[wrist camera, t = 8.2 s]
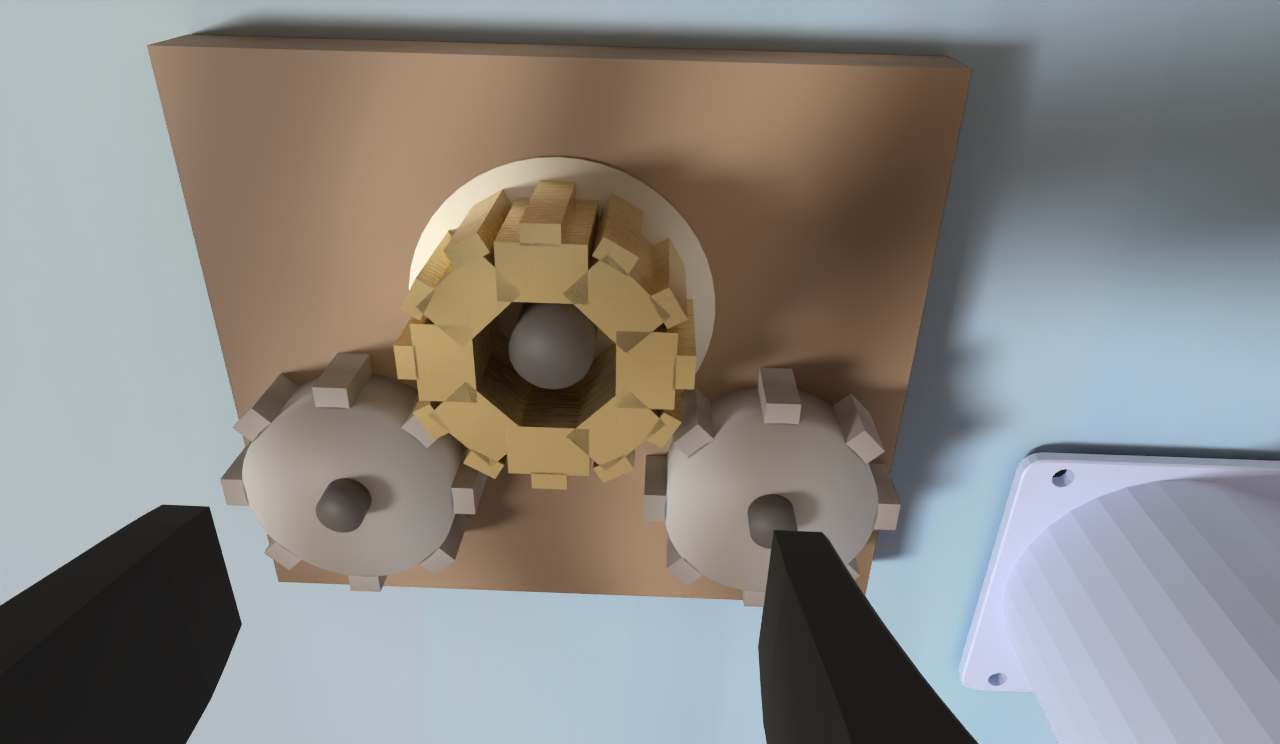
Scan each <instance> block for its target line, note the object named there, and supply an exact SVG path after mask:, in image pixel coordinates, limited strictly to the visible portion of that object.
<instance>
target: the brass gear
mask: <svg viewBox="0 0 1280 744" xmlns="http://www.w3.org/2000/svg"><path fill="white" fill-rule="evenodd" d="M642 221H643V210H641V209H639V208H638V207H636V206H634V205H633V204H631V203H629V202H628V201H626V200H624V199H623V198H621V197H619V196H618V195H616V194H614V193H612V194H611V196H610V198H609V199H608V201H607V203H606V204H605V206H604V208H603V209H602V213H601V218H600V222H599V200H585V199H576V189H575V182H573V181H542V180H539V182H538V184H537V186H536V188H535V190H534V193H533V195H532V197H531V198H522V197H517V198H516V200H515V202H514V204H513V205H512V203H511V202H510V200H509V198H508V197H507V195H506V194H505V192H504V190H503V189H502V190H500V191H498V192H496V193H495V194H493V195H491V196H489V197H487V198H486V199H484V200H482V201H480V202H478V203H477V204H475V205H473V206H472V208H471V209H470V211H469V212H468V214H467V215H466V217H465V218H464V220H463V221H462V223H461V224H460V226H459V227H458V229H457V230H456V232H455V233H452V232H451V231H449V230H448V232H447V233H446V235H445V236H444V238H443V239H442V241H441V242H440V243H439V245H438V246H437V248H436V249H435V251H434V252H433V254H432V255H431V257H430V258H429V260H428V261H427V262H426V264H425V265H424V267H423V268H422V270H421V271H420V273H419V274H418V276H417V277H416V279H415V281H414V282H413V284H412V286H411V288H410V290H409V292H408V294H407V296H406V298H405V300H404V302H403V304H402V306H401V308H400V310H401V311H403V312H405V313H407V314H409V315H410V316H412V317H411V318H410V320H409V322H408V323H407V325H406V326H405V328H404V330H403V331H402V333H401V334H400V336H399V337H398V339H397V341H396V342H395V344H394V345H393V346H394V354H395V361H396V369H397V376H398V379H410V380H417V387H418V395H419V401H418V403H417V405H416V407H415V409H414V411H413V412H412V413H413V414H414V415H415V416H416V418H417V419H418V420H419V422H420V423H421V424H422V425H423V427H424V428H425V429H426V431H427V432H428V433H429V434H430V436H431V437H432V438H433V439H434V440H435V439H437V438H439V437H441V436H443V435H445V434H447V433H450V434H451V435H453V436H454V437H455V438H456V439H457V440H459V441H460V442H461V443H462V444H464V445H465V446H466V447H467V448H469V449H468V452H467V455H466V457H465V460H464V463H463V464H465V465H467V466H470V467H472V468H474V469H476V470H478V471H480V472H482V473H484V474H486V475H488V476H490V477H492V478H494V479H495V478H496V477H497V475H498V474H499V472H500V471H501V469H502V468H503V466H504V464H505V461H506V457H507V460H508V473H518V474H531V481H532V488H536V489H563V490H567V487H568V481H569V475H572V476H590V469H591V462H592V459H593V460H594V465H593V469H594V470H595V472H596V473H597V475H598V476H599V478H600V479H601V481H602V482H603V483H605V482H607V481H609V480H612V479H614V478H616V477H619V476H621V475H623V474H626V473H628V472H630V471H632V470H634V465H635V449H636V448H637V447H638V446H639V445H640V444H642V443H643V442H644V441H646V440H647V441H649V442H651V443H653V444H655V445H657V446H659V447H661V448H663V447H664V445H665V444H666V443H667V441H668V440H669V439H670V437H671V436H672V435H673V433H674V432H675V431H676V429H677V428H678V427H679V425H680V424H681V423H682V406H681V389H691V390H694V385H695V369H696V342H695V325H694V308H693V300H690V299H687V294H686V271H685V265H684V263H683V261H682V260H681V258H680V256H679V254H678V252H677V251H676V249H675V247H674V245H673V243H672V242H671V240H670V238H667V239H665V240H663V241H661V242H659V243H657V244H655V245H652V244H651V243H650V242H649V241H648V240H647V239H646V238H645V237H644V236H643V235H642V234H641V233H642ZM511 302H533V303H562V304H574V305H575V306H576V307H577V308H578V309H579V310H580V311H581V312H582V313H584V314H585V315H586V316H587V317H588V318H589V319H590V320H591V321H592V322H593V323H594V324H595V325H596V326H597V327H599V328H600V329H601V330H602V331H603V332H604V333H605V334H606V335H607V336H608V337H609V338H610V339H611V340H612V341H613V342H614V343H613V344H612V345H611V346H610V347H608V348H607V349H606V350H605V351H604V352H603V353H601V354H600V355H599V356H598V357H597V358H595V359H594V360H593V361H592V363H591V366H590V368H589V370H588V372H587V373H586V375H585V376H584V377H583V378H582V379H581V380H580V381H578V382H577V383H575V384H573V385H571V386H568V387H565V388H560V389H546V388H541V387H538V386H535V385H533V384H531V383H529V382H528V381H526V380H525V379H524V378H522V377H521V376H520V375H519V374H518V373H517V371H516V370H515V369H514V367H513V365H512V363H511V361H510V357H509V341H510V340H509V339H508V338H507V337H506V336H505V335H504V334H502V333H501V332H500V323H499V314H500V313H501V312H502V311H503V310H504V309H505V308H506V307H507V306H508V305H509V304H510V303H511Z"/></svg>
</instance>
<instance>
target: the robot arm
mask: <svg viewBox="0 0 1280 744" xmlns="http://www.w3.org/2000/svg"><path fill="white" fill-rule="evenodd" d="M1065 469H1068V470H1067V471H1066V473H1065V474H1063V475H1062V476H1060V477H1053V476H1054V474H1055V473H1057V472H1058V471H1060V470H1065ZM241 625H242V623H241V620H240V616H239V612H238V609H237V605H236V602H235V598H234V594H233V591H232V587H231V583H230V580H229V576H228V573H227V569H226V565H225V562H224V558H223V555H222V551H221V547H220V544H219V540H218V537H217V533H216V529H215V526H214V522H213V519H212V515H211V511H210V508H209V507H204V506H180V505H161V506H159V507H157V508H156V509H154V510H152V511H150V512H149V513H147V514H145V515H143V516H142V517H140V518H138V519H137V520H135V521H133V522H132V523H130V524H128V525H127V526H125V527H123V528H122V529H120V530H119V531H117V532H115V533H114V534H112V535H111V536H109V537H107V538H106V539H104V540H103V541H101V542H100V543H98V544H96V545H95V546H93V547H92V548H90V549H89V550H87V551H86V552H84V553H82V554H81V555H79V556H78V557H76V558H75V559H73V560H72V561H70V562H68V563H67V564H65V565H64V566H62V567H61V568H59V569H57V570H56V571H54V572H53V573H51V574H50V575H48V576H46V577H45V578H43V579H42V580H40V581H39V582H37V583H35V584H34V585H32V586H31V587H29V588H28V589H26V590H24V591H23V592H21V593H20V594H18V595H16V596H15V597H13V598H12V599H10V600H9V601H7V602H5V603H4V604H2V605H1V606H0V744H186V742H187V740H188V739H189V737H190V735H191V733H192V732H193V730H194V728H195V726H196V725H197V723H198V721H199V719H200V718H201V716H202V714H203V712H204V710H205V709H206V707H207V705H208V703H209V701H210V700H211V697H212V695H213V693H214V691H215V688H216V686H217V684H218V681H219V679H220V677H221V675H222V672H223V670H224V668H225V665H226V663H227V660H228V658H229V655H230V653H231V650H232V648H233V645H234V643H235V640H236V638H237V635H238V633H239V630H240V628H241ZM758 650H759V666H760V682H761V696H762V710H763V723H764V729H765V735H766V741H767V744H978V743H977V741H976V740H975V739H974V738H973V737H972V736H971V734H970V733H969V732H968V731H967V730H966V729H965V727H964V726H963V725H962V724H961V723H960V721H959V720H958V719H957V718H956V717H955V715H954V714H953V713H952V712H951V711H950V709H949V708H948V707H947V706H946V704H945V703H944V702H943V701H942V700H941V698H940V697H939V696H938V695H937V693H936V692H935V691H934V690H933V688H932V687H931V686H930V685H929V683H928V682H927V681H926V679H925V678H924V677H923V676H922V674H921V673H920V672H919V670H918V669H917V668H916V666H915V665H914V664H913V662H912V661H911V660H910V658H909V657H908V656H907V654H906V653H905V652H904V650H903V649H902V648H901V646H900V645H899V644H898V642H897V641H896V639H895V638H894V637H893V635H892V634H891V633H890V631H889V630H888V629H887V627H886V626H885V624H884V623H883V622H882V620H881V619H880V617H879V616H878V614H877V613H876V612H875V610H874V609H873V607H872V606H871V604H870V603H869V601H868V600H867V598H866V597H865V595H864V594H863V592H862V591H861V589H860V588H859V586H858V585H857V583H856V582H855V580H854V579H853V577H852V576H851V574H850V572H849V571H848V569H847V568H846V566H845V565H844V563H843V561H842V560H841V558H840V556H839V555H838V553H837V552H836V550H835V548H834V547H833V545H832V543H831V542H830V540H829V539H828V538H827V537H826V536H825V535H824V534H823V532H809V531H785V530H774V531H773V539H772V546H771V554H770V562H769V569H768V577H767V584H766V592H765V600H764V607H763V615H762V622H761V630H760V638H759V645H758ZM958 673H959V676H960V678H961V681H962V683H963V684H964V686H966V687H968V688H970V689H976V690H997V691H1022V692H1034V694H1035V696H1036V698H1037V700H1038V702H1039V704H1040V706H1041V709H1042V711H1043V713H1044V715H1045V717H1046V719H1047V722H1048V724H1049V726H1050V728H1051V730H1052V732H1053V735H1054V737H1055V739H1056V741H1057V743H1058V744H1280V461H1269V460H1241V459H1213V458H1186V457H1158V456H1130V455H1102V454H1075V453H1047V452H1041V453H1034V454H1031V455H1029V456H1027V457H1025V458H1024V459H1023V460H1022V461H1021V462H1020V463H1019V465H1018V467H1017V469H1016V473H1015V476H1014V480H1013V483H1012V487H1011V490H1010V493H1009V497H1008V500H1007V504H1006V507H1005V511H1004V514H1003V517H1002V521H1001V524H1000V528H999V531H998V534H997V538H996V541H995V545H994V548H993V552H992V555H991V558H990V562H989V565H988V569H987V572H986V576H985V579H984V582H983V586H982V589H981V593H980V596H979V600H978V603H977V606H976V610H975V613H974V617H973V620H972V624H971V627H970V630H969V634H968V637H967V641H966V644H965V648H964V651H963V654H962V658H961V661H960V665H959V668H958ZM995 673H997V674H995Z"/></svg>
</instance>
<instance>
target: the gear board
mask: <svg viewBox="0 0 1280 744" xmlns="http://www.w3.org/2000/svg"><path fill="white" fill-rule="evenodd" d="M147 47H148V51H149V55H150V59H151V63H152V67H153V72H154V76H155V80H156V84H157V88H158V92H159V96H160V100H161V104H162V108H163V112H164V116H165V120H166V125H167V129H168V133H169V137H170V141H171V145H172V149H173V153H174V157H175V161H176V165H177V169H178V173H179V178H180V182H181V186H182V190H183V194H184V198H185V202H186V206H187V210H188V214H189V218H190V222H191V226H192V230H193V235H194V239H195V243H196V247H197V251H198V255H199V259H200V263H201V267H202V271H203V275H204V279H205V283H206V288H207V292H208V296H209V300H210V304H211V308H212V312H213V316H214V320H215V324H216V328H217V332H218V336H219V341H220V345H221V349H222V353H223V357H224V361H225V365H226V369H227V373H228V377H229V381H230V385H231V389H232V394H233V398H234V402H235V406H236V410H237V414H238V418H239V421H238V422H237V423H236V424H235V426H234V427H233V428H234V429H235V430H236V431H238V432H239V433H240V434H242V435H243V438H244V442H245V448H244V450H243V451H242V452H241V454H240V455H239V456H238V457H237V459H236V460H235V461H234V462H233V464H232V465H231V466H230V468H229V469H228V470H227V471H226V473H225V474H224V475H223V476H222V478H221V479H220V480H221V484H222V487H223V491H224V495H225V498H226V502H227V505H241V506H249V507H250V509H251V511H252V513H253V515H254V517H255V518H256V520H257V521H258V523H259V524H260V525H261V527H262V528H263V529H264V530H265V531H266V533H267V536H268V540H269V546H268V548H267V549H266V551H265V552H264V553H265V554H266V555H268V556H269V557H271V558H272V559H273V561H274V565H275V569H276V573H277V577H278V581H279V582H299V583H324V584H350V589H351V591H374V592H381V589H382V587H383V586H401V587H427V588H452V589H478V590H503V591H529V592H554V593H580V594H605V595H631V596H656V597H682V598H707V599H733V600H743V601H744V606H756V607H764V600H765V592H766V584H767V577H768V569H769V562H770V554H771V546H772V539H773V531H774V530H785V531H809V532H823V534H824V535H825V536H826V537H827V538H828V539H829V540H830V542H831V543H832V545H833V547H834V548H835V550H836V552H837V553H838V555H839V556H840V558H841V560H842V561H843V563H844V565H845V566H846V568H847V569H848V571H849V572H850V574H851V576H852V577H853V579H854V580H855V582H856V583H857V585H858V586H859V588H860V589H861V591H862V592H863V594H864V595H865V594H866V589H867V584H868V579H869V574H870V569H871V564H872V559H873V554H874V549H875V544H876V539H877V535H878V530H896V525H897V520H898V516H899V511H900V507H901V503H900V501H899V498H898V496H897V493H896V490H895V488H894V485H893V483H892V480H891V478H890V471H891V466H892V461H893V456H894V451H895V446H896V441H897V436H898V431H899V427H900V422H901V417H902V412H903V407H904V402H905V397H906V392H907V387H908V382H909V377H910V373H911V368H912V363H913V358H914V353H915V348H916V343H917V338H918V333H919V328H920V323H921V318H922V314H923V309H924V304H925V299H926V294H927V289H928V284H929V279H930V274H931V269H932V264H933V260H934V255H935V250H936V245H937V240H938V235H939V230H940V225H941V220H942V215H943V210H944V206H945V201H946V196H947V191H948V186H949V181H950V176H951V171H952V166H953V161H954V156H955V151H956V147H957V142H958V137H959V132H960V127H961V122H962V117H963V112H964V107H965V102H966V97H967V93H968V88H969V83H970V78H971V73H972V69H971V68H969V67H967V66H965V65H964V64H962V63H960V62H958V61H956V60H954V59H952V58H951V57H949V56H923V55H888V54H853V53H818V52H783V51H748V50H713V49H678V48H643V47H608V46H573V45H538V44H503V43H469V42H434V41H399V40H364V39H329V38H294V37H259V36H224V35H189V34H188V35H184V36H181V37H177V38H173V39H169V40H166V41H162V42H158V43H154V44H151V45H147ZM539 180H542V181H573V182H575V189H576V199H585V200H599V222H600V218H601V213H602V209H603V208H604V206H605V204H606V203H607V201H608V199H609V198H610V196H611V194H612V193H614V194H616V195H618V196H619V197H621V198H623V199H624V200H626V201H628V202H629V203H631V204H633V205H634V206H636V207H638V208H639V209H641V210H643V221H642V233H641V234H642V235H643V236H644V237H645V238H646V239H647V240H648V241H649V242H650V243H651V244H652V245H655V244H657V243H659V242H661V241H663V240H665V239H667V238H670V240H671V242H672V243H673V245H674V247H675V249H676V251H677V252H678V254H679V256H680V258H681V260H682V261H683V263H684V265H685V271H686V294H687V299H690V300H693V308H694V325H695V342H696V369H695V385H694V390H691V389H681V406H682V423H681V424H680V425H679V427H678V428H677V429H676V431H675V432H674V433H673V435H672V436H671V437H670V439H669V440H668V441H667V443H666V444H665V445H664V447H663V448H661V447H659V446H657V445H655V444H653V443H651V442H649V441H647V440H646V441H644V442H643V443H642V444H640V445H639V446H638V447H637V448H636V449H635V465H634V470H632V471H630V472H628V473H626V474H623V475H621V476H619V477H616V478H614V479H612V480H609V481H607V482H605V483H603V482H602V481H601V479H600V478H599V476H598V475H597V473H596V472H595V470H594V469H593V465H594V460H593V459H592V462H591V469H590V476H572V475H569V481H568V487H567V490H563V489H536V488H532V481H531V474H518V473H508V460H507V457H506V461H505V464H504V466H503V468H502V469H501V471H500V472H499V474H498V475H497V477H496V478H495V479H494V478H492V477H490V476H488V475H486V474H484V473H482V472H480V471H478V470H476V469H474V468H472V467H470V466H467V465H465V464H463V463H464V460H465V457H466V455H467V452H468V449H469V448H467V447H466V446H465V445H464V444H462V443H461V442H460V441H459V440H457V439H456V438H455V437H454V436H453V435H451V434H450V433H447V434H445V435H443V436H441V437H439V438H437V439H435V440H434V439H433V438H432V437H431V436H430V434H429V433H428V432H427V431H426V429H425V428H424V427H423V425H422V424H421V423H420V422H419V420H418V419H417V418H416V416H415V415H414V414H413V413H412V412H413V411H414V409H415V407H416V405H417V403H418V401H419V395H418V387H417V380H410V379H398V376H397V369H396V361H395V354H394V346H393V345H394V344H395V342H396V341H397V339H398V337H399V336H400V334H401V333H402V331H403V330H404V328H405V326H406V325H407V323H408V322H409V320H410V318H411V317H412V316H410V315H409V314H407V313H405V312H403V311H401V310H400V308H401V306H402V304H403V302H404V300H405V298H406V296H407V294H408V292H409V290H410V288H411V286H412V284H413V282H414V281H415V279H416V277H417V276H418V274H419V273H420V271H421V270H422V268H423V267H424V265H425V264H426V262H427V261H428V260H429V258H430V257H431V255H432V254H433V252H434V251H435V249H436V248H437V246H438V245H439V243H440V242H441V241H442V239H443V238H444V236H445V235H446V233H447V232H448V230H449V231H451V232H452V233H455V232H456V230H457V229H458V227H459V226H460V224H461V223H462V221H463V220H464V218H465V217H466V215H467V214H468V212H469V211H470V209H471V208H472V206H473V205H475V204H477V203H478V202H480V201H482V200H484V199H486V198H487V197H489V196H491V195H493V194H495V193H496V192H498V191H500V190H502V189H503V190H504V192H505V194H506V195H507V197H508V198H509V200H510V202H511V203H512V205H513V204H514V202H515V200H516V198H517V197H522V198H531V197H532V195H533V193H534V190H535V188H536V186H537V184H538V182H539ZM499 323H500V332H501V333H502V334H504V335H505V336H506V337H507V338H508V339H509V340H510V341H509V357H510V361H511V363H512V365H513V367H514V369H515V370H516V371H517V373H518V374H519V375H520V376H521V377H522V378H524V379H525V380H526V381H528V382H529V383H531V384H533V385H535V386H538V387H541V388H546V389H560V388H565V387H568V386H571V385H573V384H575V383H577V382H578V381H580V380H581V379H582V378H583V377H584V376H585V375H586V373H587V372H588V370H589V368H590V366H591V363H592V361H593V360H594V359H595V358H597V357H598V356H599V355H600V354H601V353H603V352H604V351H605V350H606V349H607V348H608V347H610V346H611V345H612V344H613V343H614V342H613V341H612V340H611V339H610V338H609V337H608V336H607V335H606V334H605V333H604V332H603V331H602V330H601V329H600V328H599V327H597V326H596V325H595V324H594V323H593V322H592V321H591V320H590V319H589V318H588V317H587V316H586V315H585V314H584V313H582V312H581V311H580V310H579V309H578V308H577V307H576V306H575V305H574V304H562V303H533V302H511V303H510V304H509V305H508V306H507V307H506V308H505V309H504V310H503V311H502V312H501V313H500V314H499Z"/></svg>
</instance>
